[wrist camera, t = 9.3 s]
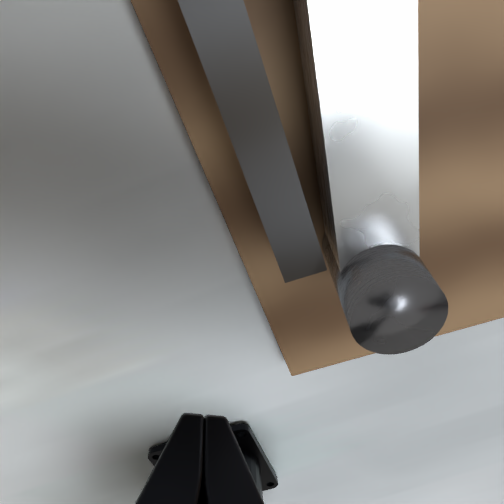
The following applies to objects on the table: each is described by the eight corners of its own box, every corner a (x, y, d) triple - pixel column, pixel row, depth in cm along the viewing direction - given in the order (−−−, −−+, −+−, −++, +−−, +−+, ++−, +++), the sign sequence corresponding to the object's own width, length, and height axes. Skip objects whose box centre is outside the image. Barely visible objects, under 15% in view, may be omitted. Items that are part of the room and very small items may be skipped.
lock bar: (399, 264, 20) (447, 344, 15) (326, 278, 20) (353, 361, 16) (384, -136, 13) (466, -189, 8) (271, -107, 13) (294, -145, 9)
